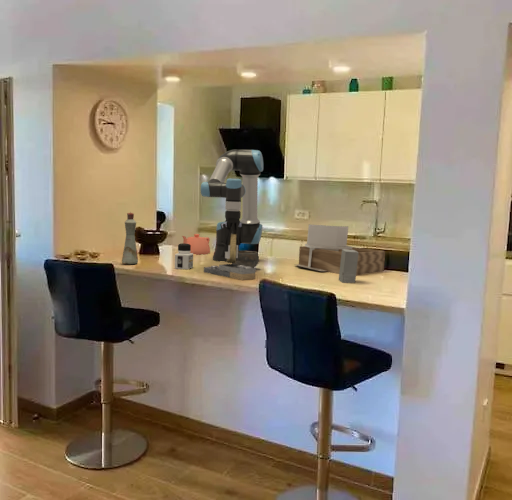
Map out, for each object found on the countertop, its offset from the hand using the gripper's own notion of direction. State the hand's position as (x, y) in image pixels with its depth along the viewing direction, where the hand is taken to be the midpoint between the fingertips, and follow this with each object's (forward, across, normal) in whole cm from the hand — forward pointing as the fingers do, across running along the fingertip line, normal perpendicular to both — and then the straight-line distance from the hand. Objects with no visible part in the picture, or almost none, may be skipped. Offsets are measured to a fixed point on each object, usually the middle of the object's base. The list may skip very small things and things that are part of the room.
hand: (231, 258), depth 281 cm
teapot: (+9, -36, -78) cm, 86 cm away
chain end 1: (+9, 0, 0) cm, 9 cm away
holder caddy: (+9, -68, +14) cm, 70 cm away
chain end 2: (+9, 0, 0) cm, 9 cm away
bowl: (+9, -19, -11) cm, 24 cm away
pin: (+2, 0, 0) cm, 2 cm away
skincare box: (+9, -36, +44) cm, 58 cm away
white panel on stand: (+7, -62, +7) cm, 63 cm away
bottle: (+9, +21, -61) cm, 65 cm away
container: (+9, +5, -33) cm, 34 cm away
